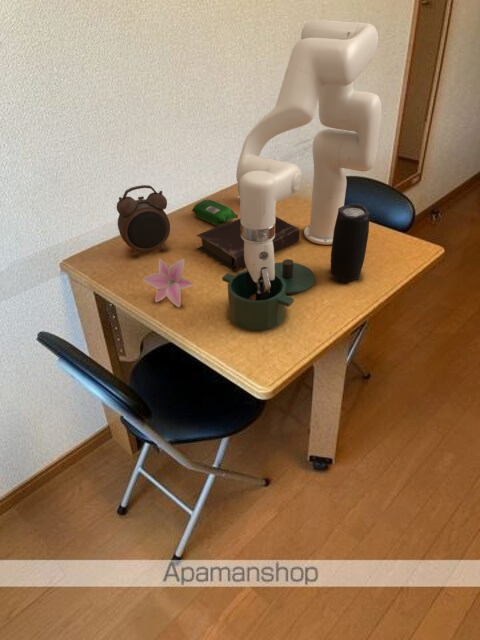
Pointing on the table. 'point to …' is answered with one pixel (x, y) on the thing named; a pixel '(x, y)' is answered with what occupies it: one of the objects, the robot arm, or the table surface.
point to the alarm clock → (143, 221)
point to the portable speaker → (349, 242)
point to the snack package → (214, 212)
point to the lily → (169, 281)
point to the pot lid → (295, 276)
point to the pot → (256, 303)
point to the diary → (241, 242)
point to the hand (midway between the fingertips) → (257, 294)
